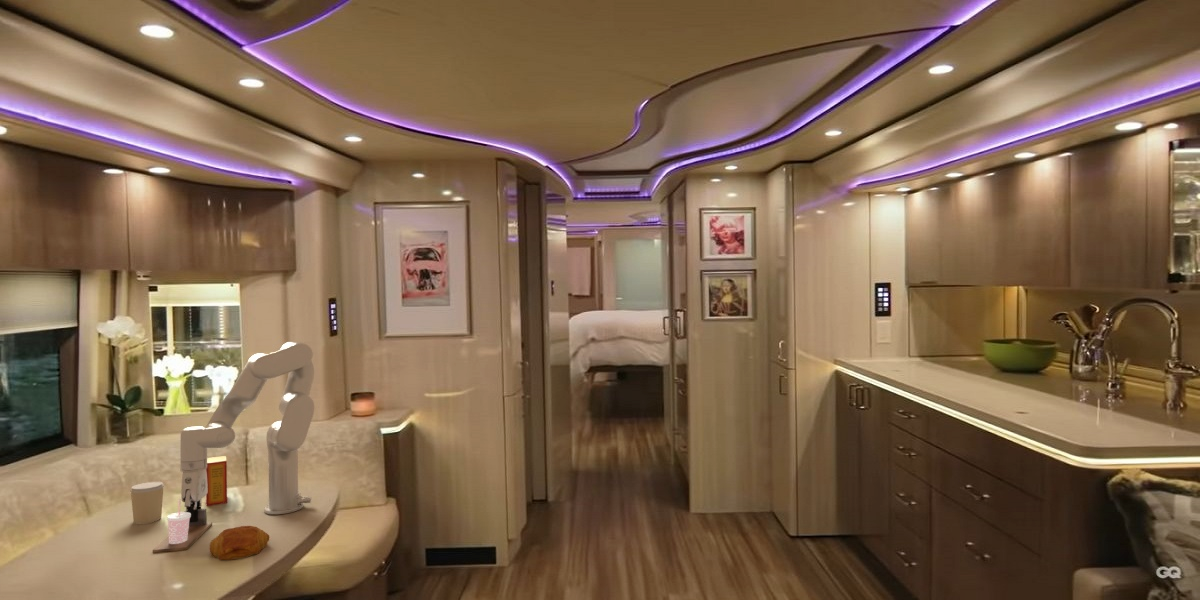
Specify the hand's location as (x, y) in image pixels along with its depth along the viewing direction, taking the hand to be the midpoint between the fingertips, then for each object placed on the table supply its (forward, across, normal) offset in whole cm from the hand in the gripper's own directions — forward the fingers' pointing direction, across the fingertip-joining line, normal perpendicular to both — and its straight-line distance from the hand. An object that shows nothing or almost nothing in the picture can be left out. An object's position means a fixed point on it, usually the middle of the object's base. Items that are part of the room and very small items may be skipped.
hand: (193, 520), depth 213 cm
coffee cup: (+3, +13, +18) cm, 23 cm away
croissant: (+3, -26, -21) cm, 33 cm away
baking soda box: (+3, +30, +2) cm, 30 cm away
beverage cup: (+3, -15, -1) cm, 15 cm away
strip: (+3, -10, 0) cm, 10 cm away
